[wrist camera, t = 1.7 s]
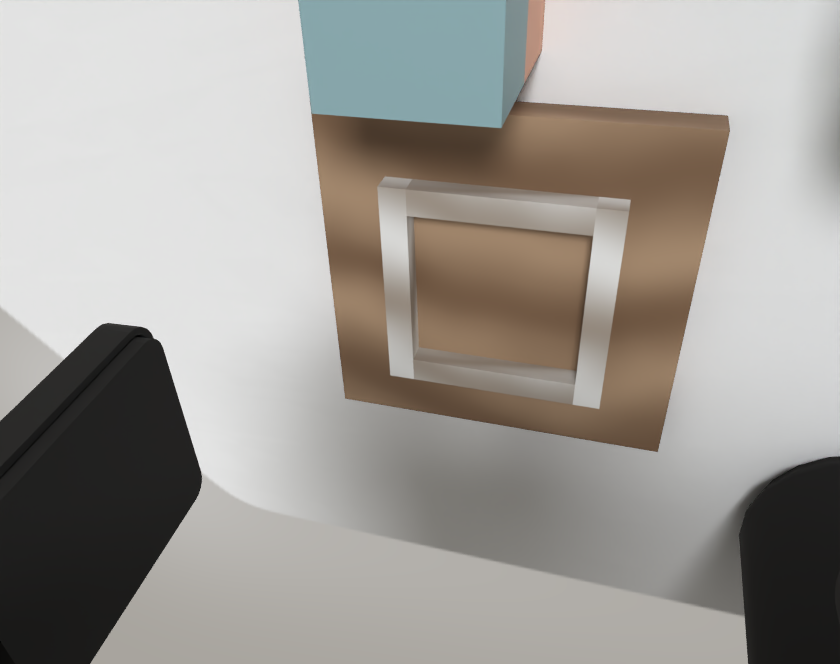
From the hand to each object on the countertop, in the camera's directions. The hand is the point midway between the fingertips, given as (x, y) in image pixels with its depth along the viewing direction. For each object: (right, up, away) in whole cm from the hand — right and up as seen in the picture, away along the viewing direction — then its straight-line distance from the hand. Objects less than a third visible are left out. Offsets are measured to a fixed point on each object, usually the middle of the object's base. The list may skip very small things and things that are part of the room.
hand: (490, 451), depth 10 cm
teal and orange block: (+1, +15, +17) cm, 23 cm away
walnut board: (+3, +4, +24) cm, 25 cm away
